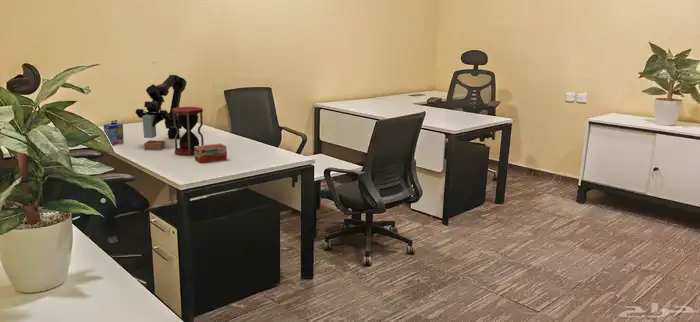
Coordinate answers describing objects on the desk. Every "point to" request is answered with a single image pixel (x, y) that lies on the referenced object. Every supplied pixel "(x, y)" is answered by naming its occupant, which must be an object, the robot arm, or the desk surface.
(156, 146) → the walnut block
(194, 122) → the hourglass
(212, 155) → the medicine box
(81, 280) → the desk surface
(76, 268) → the desk surface
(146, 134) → the slate post
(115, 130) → the ink cartridge box
